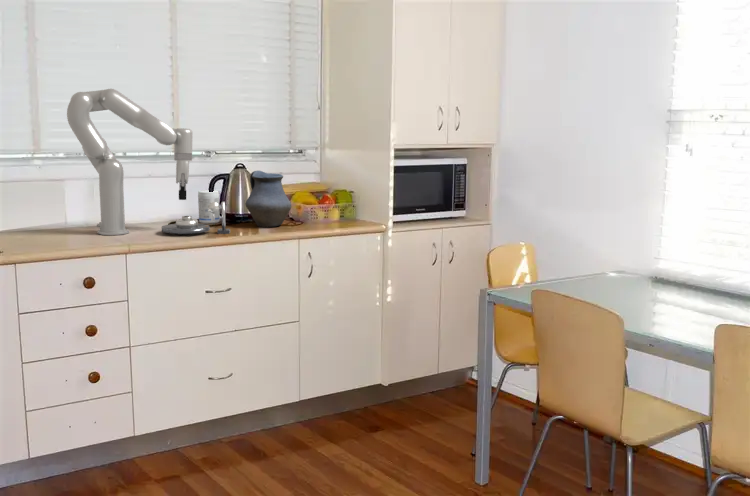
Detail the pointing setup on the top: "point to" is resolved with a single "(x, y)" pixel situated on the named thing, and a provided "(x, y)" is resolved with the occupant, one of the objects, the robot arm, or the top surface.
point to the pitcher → (267, 199)
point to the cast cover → (186, 222)
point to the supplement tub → (203, 202)
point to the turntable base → (186, 234)
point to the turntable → (174, 230)
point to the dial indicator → (214, 207)
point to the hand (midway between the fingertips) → (182, 199)
